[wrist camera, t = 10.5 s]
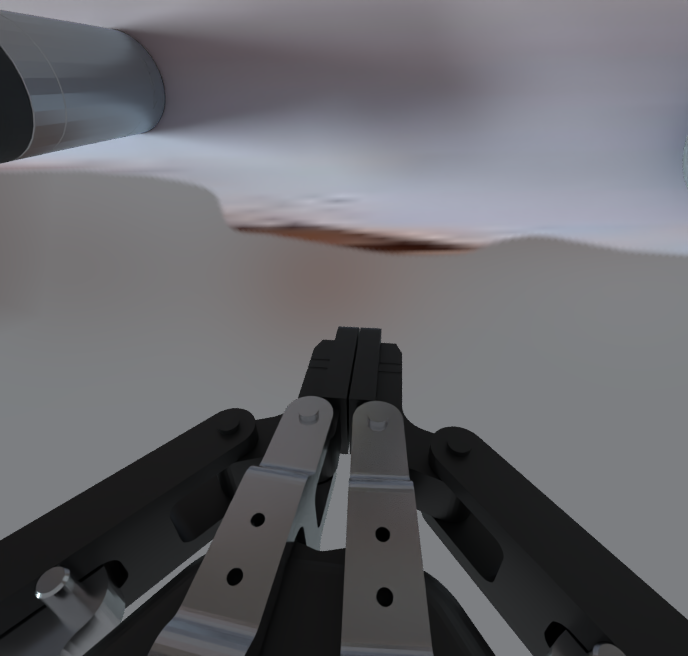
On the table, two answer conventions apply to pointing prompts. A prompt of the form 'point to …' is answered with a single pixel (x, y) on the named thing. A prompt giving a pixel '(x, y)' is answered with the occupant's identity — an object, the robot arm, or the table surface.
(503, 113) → the table surface
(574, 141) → the table surface
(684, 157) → the cereal bowl
